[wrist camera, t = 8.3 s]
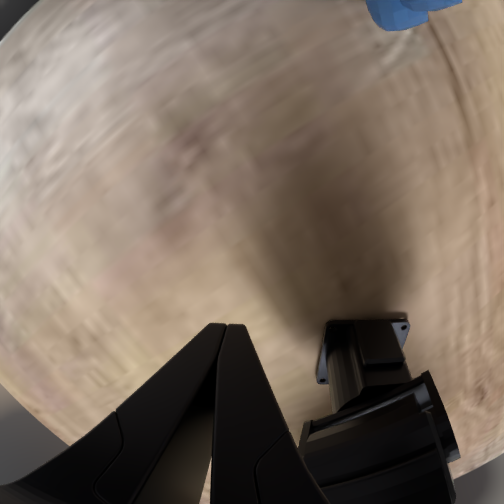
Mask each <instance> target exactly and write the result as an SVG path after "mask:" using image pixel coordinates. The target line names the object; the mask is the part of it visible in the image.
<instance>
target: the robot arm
mask: <svg viewBox="0 0 504 504" xmlns="http://www.w3.org/2000/svg"><path fill="white" fill-rule="evenodd" d="M403 325H405V326H403ZM402 326H403V327H402ZM331 327H335V328H333V329H330V328H331ZM409 329H410V324H409V322H408V320H407V319H390V320H333V321H329V322H327V323H326V325H325V330H324V336H323V342H322V348H321V354H320V360H319V365H318V370H317V376H316V380H317V383H318V384H329V389H330V397H331V406H332V414H331V415H328V416H326V417H323V418H320V419H317V420H314V421H313V420H310V421H307V422H304V425H303V429H302V434H301V438H300V442H299V446H298V448H297V446H296V444H295V442H294V439H293V437H292V435H291V433H290V432H289V428H288V426H287V424H286V421H285V419H284V417H283V415H282V412H281V410H280V408H279V405H278V403H277V401H276V398H275V396H274V394H273V391H272V389H271V386H270V384H269V382H268V379H267V377H266V374H265V372H264V370H263V367H262V365H261V362H260V360H259V358H258V355H257V353H256V350H255V348H254V345H253V343H252V341H251V338H250V336H249V333H248V331H247V328H246V326H245V325H244V324H228V325H226V324H225V323H209V324H208V325H207V326H206V327H205V328H204V329H202V330H201V331H200V332H199V333H198V334H197V335H196V336H195V337H194V338H193V339H192V340H191V341H190V342H189V343H187V344H186V345H185V346H184V347H183V348H182V349H181V350H180V351H179V352H178V353H177V354H176V355H174V356H173V357H172V358H171V359H170V360H169V361H168V362H167V363H166V364H165V365H164V366H163V367H161V368H160V369H159V370H158V371H157V372H156V373H155V374H154V375H153V376H152V377H151V378H149V379H148V380H147V381H146V382H145V383H144V384H143V385H142V386H141V387H140V388H138V389H137V390H136V391H135V392H134V393H133V394H132V395H131V396H130V397H129V398H127V399H126V400H125V401H124V402H123V403H122V404H121V405H120V406H119V407H117V408H116V412H115V411H113V412H112V413H110V414H109V415H108V416H107V417H106V418H105V419H104V420H103V421H101V422H100V423H99V424H98V425H97V426H95V427H94V428H93V429H92V430H91V431H89V432H88V433H87V434H86V435H85V436H83V437H82V438H81V439H79V440H78V441H76V442H75V443H74V444H72V445H71V446H70V447H68V448H67V449H65V450H64V451H63V452H61V453H59V454H58V455H56V456H55V457H53V458H52V459H50V460H49V461H48V462H46V463H44V464H43V465H41V466H40V467H38V468H37V469H35V470H34V471H32V472H30V473H29V474H27V475H26V476H24V477H22V478H20V479H18V480H16V481H14V482H11V483H8V484H4V485H0V504H199V502H200V498H201V495H202V491H203V487H204V483H205V479H206V475H207V472H208V468H209V464H210V460H211V456H212V461H211V489H210V504H454V503H455V499H456V493H455V488H454V483H453V478H452V474H451V470H450V467H449V463H450V462H453V461H455V460H457V459H459V458H461V457H460V453H459V449H458V446H457V442H456V439H455V436H454V433H453V430H452V427H451V424H450V421H449V418H448V416H447V413H446V410H445V408H444V405H443V403H442V401H441V398H440V396H439V393H438V391H437V389H436V386H435V384H434V382H433V379H432V377H431V375H430V372H429V370H427V371H425V372H423V373H421V376H419V377H417V378H415V379H412V377H411V374H410V371H409V369H408V366H407V363H406V361H405V360H406V358H405V355H404V353H403V350H402V349H403V346H404V343H405V340H406V337H407V335H408V332H409Z"/></svg>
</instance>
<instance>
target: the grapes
mask: <svg viewBox="0 0 504 504" xmlns="http://www.w3.org/2000/svg"><path fill="white" fill-rule="evenodd" d="M459 3H462V0H366V4H367V7H368V11H369V13H370V14H371V16H372V18H373V20H374V22H375V23H376V24H377V25H378V26H379V27H381V28H382V29H384V30H386V31H400V30H407V29H409V28H412V27H415V26H418V25H420V24H422V23H425V22H427V21H428V11H438V10H441V9H444V8H448V7H451V6H454V5H456V4H459Z"/></svg>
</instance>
